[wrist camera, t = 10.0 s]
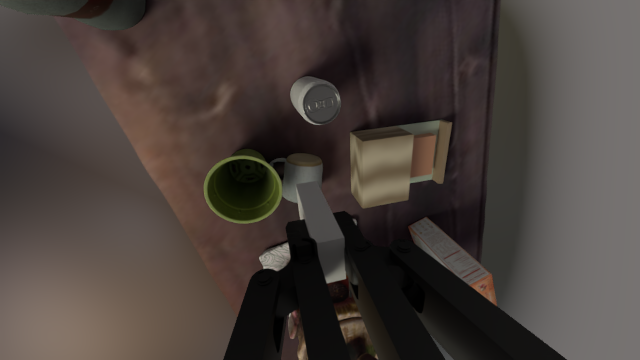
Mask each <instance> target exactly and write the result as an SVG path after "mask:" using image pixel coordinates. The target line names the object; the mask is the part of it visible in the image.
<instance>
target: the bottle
mask: <svg viewBox="0 0 640 360" xmlns="http://www.w3.org/2000/svg"><path fill="white" fill-rule="evenodd" d="M145 3H146V1H145V0H0V5H2V6H4V7H7V8H11V9H13V10H17V11H20V12H23V13H26V14H38V15H39V14H40V15H52V16H61V17H70V18H74V19H76V20H78V21H81V22H83V23H85V24H88V25H90V26H93V27H96V28H99V29H102V30H124V29H127V28H130V27H133V26H134V25H136V24H137V23H138V22H139V21H140V20H141V19H142V17H143V14H144V12H145Z"/></svg>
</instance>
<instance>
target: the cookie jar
mask: <svg viewBox="0 0 640 360" xmlns="http://www.w3.org/2000/svg"><path fill="white" fill-rule="evenodd" d="M353 221H354V222H355V224H356V225H357V221H356V220H355V219H353ZM358 229H359V228H358ZM259 259H260V261H261V263H262V265H263V268H264V269H267V268H269V269H274V270H275V271H278V270H280V269H282V268H284V267H285V266H286V265H287V264H288V263H289V261H290V251H289V245H288V242H286V243H284V244H281V245H279V246H276V247H273V248H269V249H268V250H266V251H264V253H263V254H262V255H261V256H260V257H259ZM327 285H328V289H329V292H330V295H331V298H332V301H333V304H334V308H335V311H336V314H337V317H338V320H339V323H340V327H341V330H342V333H343V336H344V339H345V342H346V345H347V349H348V352H349V355H350V358H351V360H378V357H377V354H376V352H375V349H374V347H373V344H372V342H371V339H370V337H369V334H368V332H367V330H366V327H365V325H364V322H363V320H362V317H361V315H360V312H359V310H358V307H357V305H356V302H355V300H354V297H353V295H352V297H350V296H349V278H348V276H347V273H346V279H344V280H339V281H335V282H331V283H327ZM288 327H289V335H290V338H291V339H294V338H296V337H298V336H299V342H300V343H299V346H298V353H297V354H298V358H299V360H308V357H307V351H306V345H305V340H304V334H303V328H302V322H301V316H300V310H299V309H297V310H295V311H294V312H292V313H290V314H289V320H288Z"/></svg>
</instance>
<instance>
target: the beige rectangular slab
mask: <svg viewBox="0 0 640 360" xmlns="http://www.w3.org/2000/svg"><path fill="white" fill-rule="evenodd" d="M413 139H414V134H412V133H410V132H408V131H406V130H403V129H401V128H399V127H397V126H391V127H384V128H377V129H369V130H362V131H354V132H350V152H351V193H352V194H353V196H354V197H355V198H356V200H357V201H358V202H359V204H360V205H361V207H362V208H368V207H373V206H378V205H383V204H389V203H394V202H399V201H405V200H408V195H409V184H410V173H411V162H412V150H413Z"/></svg>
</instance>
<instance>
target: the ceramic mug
mask: <svg viewBox="0 0 640 360" xmlns="http://www.w3.org/2000/svg"><path fill="white" fill-rule="evenodd" d="M275 162H285V167H284V179H283V185H282V195H283V197H284V198H285V199H287V200H289V201H291V202H295V203H298V199H297V192H296V184H301V183H307V182H313V181H317V183H318V185H319V187H320V189H321V185H322V172H323V164H322V160H321V159H320V158H319V157H318V156H316V155H312V154H306V153H295V154H291V155H289V156H288V157H287V159H285V158H277V159H274V160H273V161H271V162H270V163H269V165H270V166H272V167H273V163H275ZM266 172H267V171H266Z"/></svg>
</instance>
